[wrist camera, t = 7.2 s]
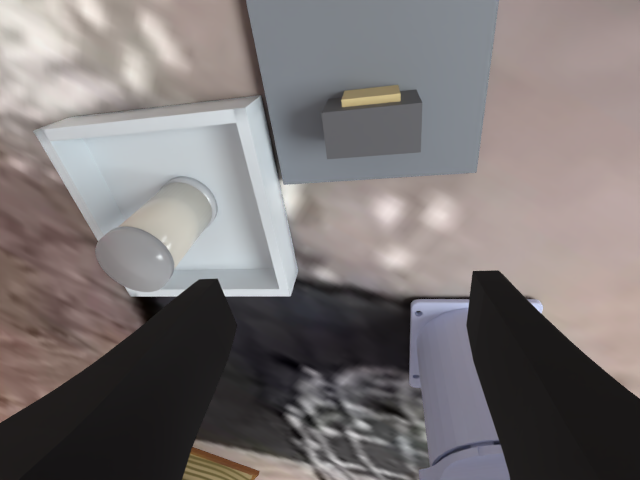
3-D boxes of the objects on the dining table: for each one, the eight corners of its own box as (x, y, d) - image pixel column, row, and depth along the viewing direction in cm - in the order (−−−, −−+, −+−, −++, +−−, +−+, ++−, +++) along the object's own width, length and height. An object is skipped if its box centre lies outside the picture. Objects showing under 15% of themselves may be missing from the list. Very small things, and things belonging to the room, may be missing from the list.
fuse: (223, 227, 21) (177, 294, 16) (172, 225, 22) (113, 290, 17) (210, 176, 19) (154, 235, 15) (155, 176, 20) (82, 232, 15)
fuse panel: (473, 167, 18) (489, 195, 15) (286, 180, 19) (272, 206, 17) (530, -288, 10) (582, -389, 7) (211, -197, 12) (165, -252, 9)
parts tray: (298, 270, 23) (290, 296, 21) (150, 272, 25) (130, 296, 23) (261, 95, 17) (245, 107, 15) (69, 117, 19) (32, 130, 17)
